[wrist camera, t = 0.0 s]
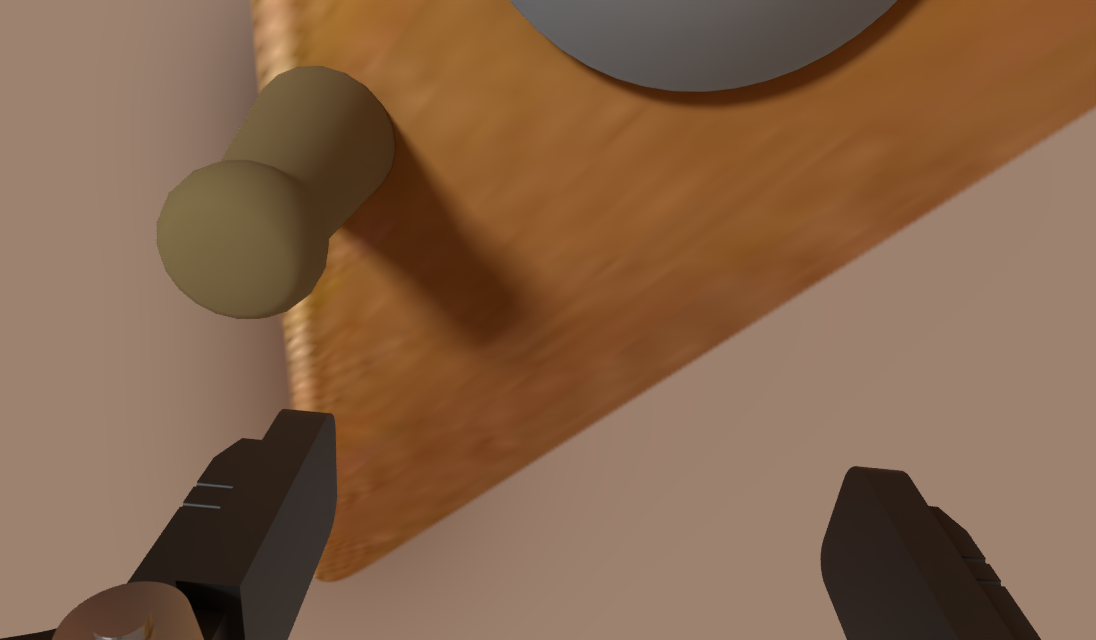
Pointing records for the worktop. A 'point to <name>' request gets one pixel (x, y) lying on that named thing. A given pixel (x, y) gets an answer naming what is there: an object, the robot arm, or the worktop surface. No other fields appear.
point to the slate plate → (699, 37)
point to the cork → (276, 195)
